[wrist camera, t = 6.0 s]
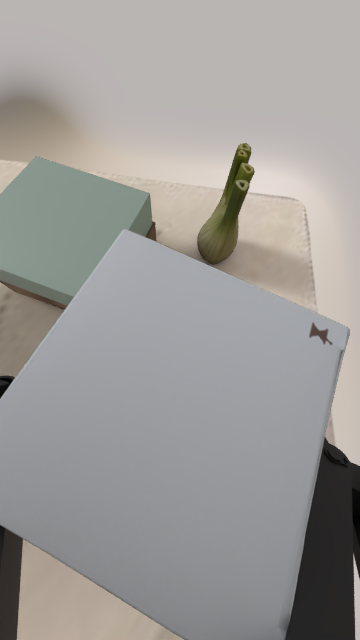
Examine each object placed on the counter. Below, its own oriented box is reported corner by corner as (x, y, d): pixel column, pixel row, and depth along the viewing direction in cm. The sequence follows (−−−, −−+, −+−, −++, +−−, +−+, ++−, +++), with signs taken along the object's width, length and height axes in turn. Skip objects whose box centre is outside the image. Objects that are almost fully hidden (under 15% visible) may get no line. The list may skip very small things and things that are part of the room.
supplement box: (152, 334, 24) (124, 214, 8) (226, 370, 23) (360, 316, 7) (106, 417, 21) (-90, 494, 5) (190, 463, 20) (288, 735, 4)
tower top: (-14, 275, 22) (-52, 249, 18) (55, 190, 26) (36, 156, 22) (101, 318, 21) (86, 301, 17) (152, 223, 25) (149, 193, 21)
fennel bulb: (217, 275, 27) (253, 191, 16) (186, 256, 28) (199, 163, 17) (238, 246, 29) (284, 152, 18) (209, 229, 30) (234, 128, 18)
